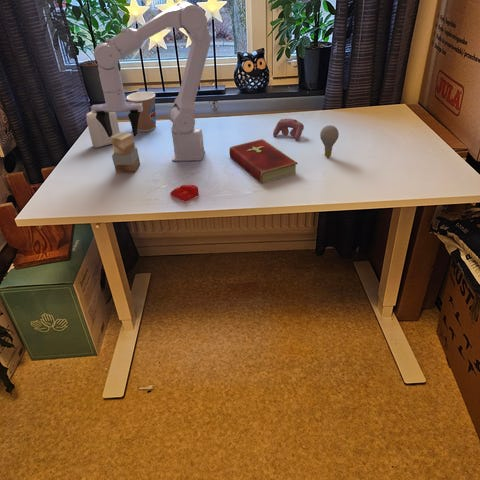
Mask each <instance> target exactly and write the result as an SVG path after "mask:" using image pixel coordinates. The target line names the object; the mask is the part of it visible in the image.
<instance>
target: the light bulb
mask: <svg viewBox="0 0 480 480" xmlns="http://www.w3.org/2000/svg"><path fill="white" fill-rule="evenodd" d="M319 136H320V140H321V142H322V144H323V145H324V146H323V147H324V156H325V157H326V158H329V157H331V156H332V152H333V147H334V146H335V144H336V142H337V141H338V139H339V137H340V134H339V130H338V128H337V127H336V126H334V125H331V124H330V125H326V126H324V127H323V128H322V129H321V130H320V134H319Z"/></svg>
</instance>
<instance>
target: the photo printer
mask: <svg viewBox="0 0 480 480" xmlns="http://www.w3.org/2000/svg"><path fill="white" fill-rule="evenodd" d="M96 114H97V113H92V110H91V111H90V112H87V113H86V114H85V118H86V123H87V127H88V131H89V136H90V140H91V144H92V147H93V148H95V149H97V148H100V147H105V146H109V145H112V140H111V137H112V136H114V135H116V134H118V133H120V132H121V131H120V126H119V121H118V118H117V117H118V116H117V112H109V118H110V124H111V128H112V133H113V135H112V136H111V137H108V135H107V132H106V131H105V129H104V127H103V126H102V124H101V123H100V122H99V121H98V120H97V119H96Z"/></svg>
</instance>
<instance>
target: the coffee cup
mask: <svg viewBox="0 0 480 480" xmlns="http://www.w3.org/2000/svg"><path fill="white" fill-rule="evenodd" d="M125 99H126V101H127V102H130V103H142V106H143V111H142V112H140V115H139V119H138V127H137V131H140V132H148V131H152V130H155V128H156V127H157V126H156V124H157V117H156V114H157V113H156V101H155V100H156V93H155V92H153V91H137V92H132V93H130V94H128V95H127V96H125Z"/></svg>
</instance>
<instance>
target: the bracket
mask: <svg viewBox="0 0 480 480" xmlns="http://www.w3.org/2000/svg"><path fill="white" fill-rule="evenodd" d="M169 194H170V196H171V197H174V198H176V199H178V200H180V201H182V202H184V203H187V202H189V201H191V200H193V199H195V198H196V197H198V196H200V195H199V187H198V186H197V185H196V184H195V185H194V184H182V185H180V186H179V187H178V186H177V187H176V188H174V189H173V190H171V191H170V192H169Z"/></svg>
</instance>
